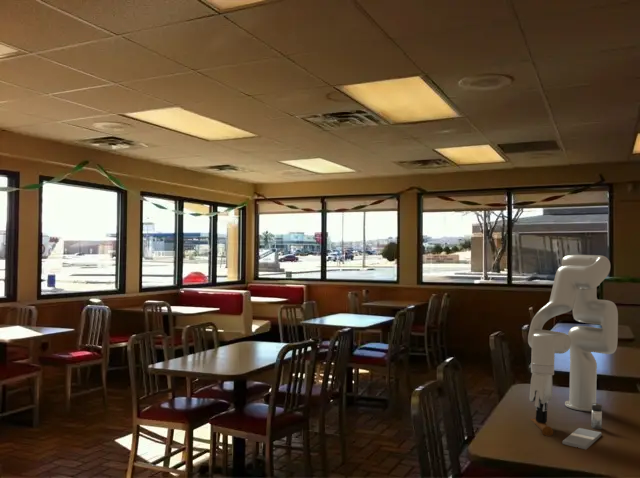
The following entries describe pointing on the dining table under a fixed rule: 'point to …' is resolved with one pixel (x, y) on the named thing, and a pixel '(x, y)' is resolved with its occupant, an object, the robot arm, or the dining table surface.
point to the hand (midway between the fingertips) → (541, 421)
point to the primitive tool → (543, 427)
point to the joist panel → (582, 438)
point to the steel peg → (596, 416)
